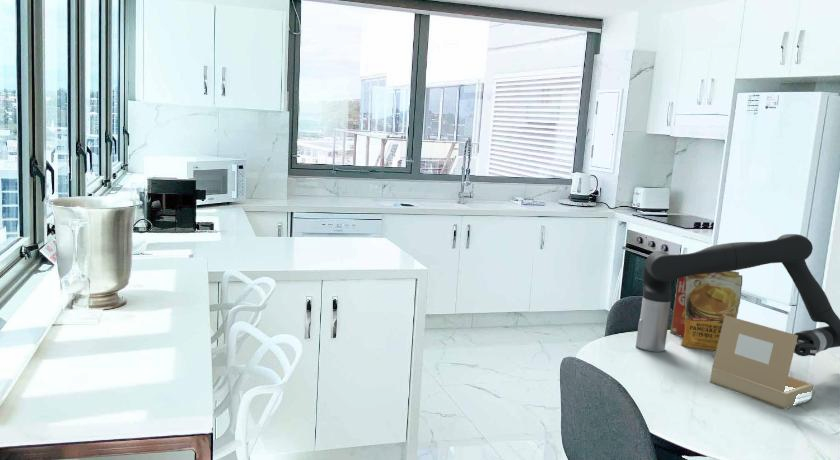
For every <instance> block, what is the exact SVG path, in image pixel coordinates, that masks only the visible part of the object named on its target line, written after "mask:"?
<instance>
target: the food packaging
mask: <svg viewBox="0 0 840 460" xmlns="http://www.w3.org/2000/svg"><path fill="white" fill-rule="evenodd" d="M675 285H676V286H675V295H674V300H673V301H674V302H673V308H672V315H671V322H670V331H669V334H672V333H673V334H672V335H675V334H677V336H679V335H681V336H680V337H683V336H684V331H685V323H684V322H685V312H686V307H685V292H686V277H682V278H678V279H676V284H675Z"/></svg>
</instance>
